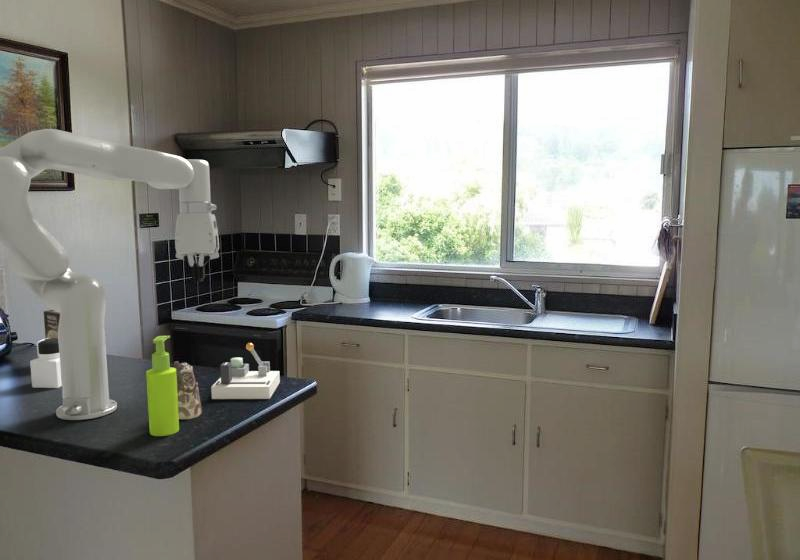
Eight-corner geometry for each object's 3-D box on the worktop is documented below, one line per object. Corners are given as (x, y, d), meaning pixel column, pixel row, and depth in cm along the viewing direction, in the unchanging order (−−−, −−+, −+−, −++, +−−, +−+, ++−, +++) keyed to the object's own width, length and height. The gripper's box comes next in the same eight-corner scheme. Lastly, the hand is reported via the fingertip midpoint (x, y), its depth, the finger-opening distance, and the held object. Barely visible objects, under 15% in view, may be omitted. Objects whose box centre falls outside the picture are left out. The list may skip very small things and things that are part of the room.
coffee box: (46, 365, 194) (41, 310, 192) (67, 360, 199) (63, 307, 197) (64, 370, 189) (60, 313, 187) (85, 364, 194) (81, 310, 192)
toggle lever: (267, 371, 172) (249, 342, 171) (261, 375, 172) (243, 346, 171) (270, 368, 175) (252, 340, 174) (263, 372, 175) (245, 343, 174)
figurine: (179, 422, 146) (176, 368, 145) (162, 415, 151) (159, 363, 149) (207, 413, 152) (205, 362, 150) (190, 407, 156) (187, 357, 155)
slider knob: (229, 383, 163) (228, 364, 163) (221, 383, 163) (220, 364, 163) (232, 379, 166) (231, 362, 166) (224, 379, 166) (223, 362, 166)
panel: (269, 398, 162) (268, 376, 162) (211, 399, 162) (210, 376, 162) (279, 382, 176) (279, 361, 175) (226, 382, 176) (225, 361, 175)
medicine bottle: (74, 380, 178) (70, 336, 177) (57, 388, 171) (54, 342, 170) (48, 380, 179) (45, 336, 177) (31, 387, 172) (27, 342, 170)
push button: (241, 369, 172) (241, 360, 171) (229, 369, 172) (229, 360, 171) (244, 366, 175) (243, 357, 174) (232, 366, 175) (232, 357, 174)
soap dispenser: (184, 424, 145) (179, 333, 142) (174, 436, 138) (169, 341, 135) (156, 424, 145) (151, 333, 142) (145, 436, 138) (140, 341, 135)
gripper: (228, 208, 173) (231, 279, 175) (170, 208, 173) (174, 279, 175) (221, 209, 165) (223, 283, 168) (160, 209, 165) (164, 283, 168)
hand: (198, 281), depth 171 cm, fingers closed
